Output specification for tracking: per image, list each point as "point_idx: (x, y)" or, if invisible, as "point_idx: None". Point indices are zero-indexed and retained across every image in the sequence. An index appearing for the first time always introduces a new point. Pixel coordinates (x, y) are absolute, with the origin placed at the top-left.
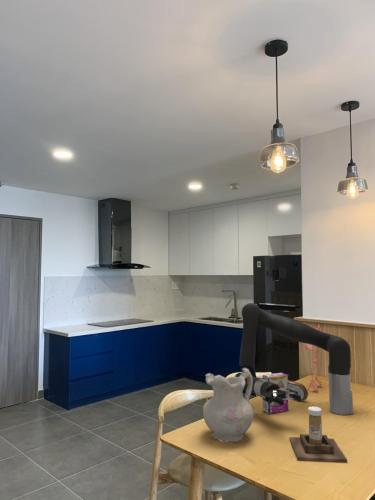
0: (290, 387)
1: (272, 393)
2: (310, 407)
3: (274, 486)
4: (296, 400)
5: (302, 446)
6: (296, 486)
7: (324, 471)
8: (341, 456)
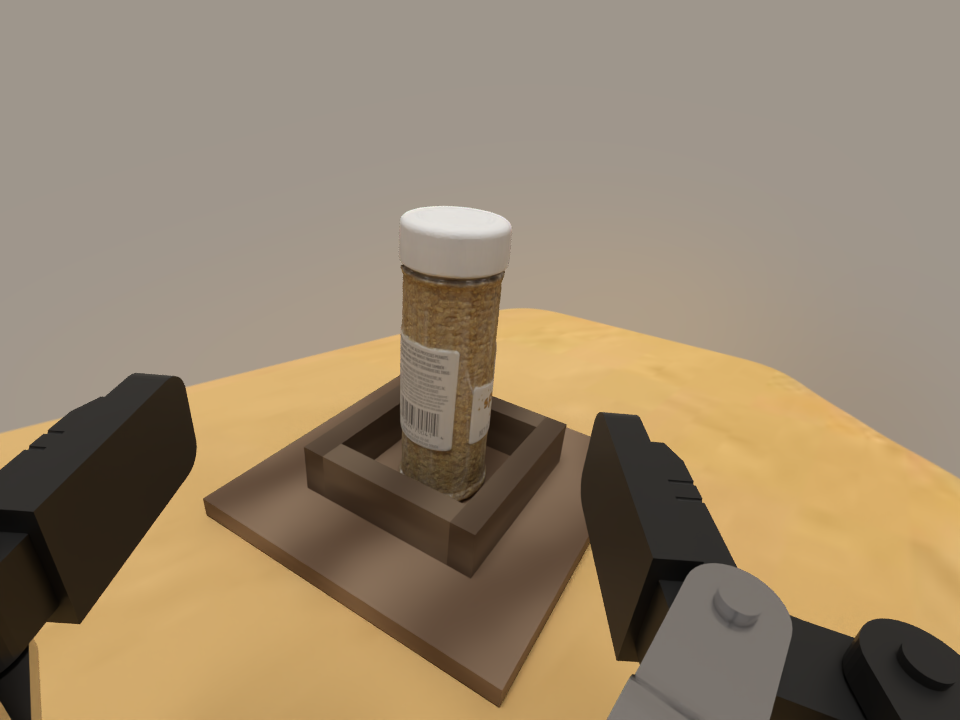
0: None
1: None
2: (478, 224)
3: (820, 402)
4: (141, 533)
5: (517, 516)
6: (729, 378)
7: (561, 384)
8: None
